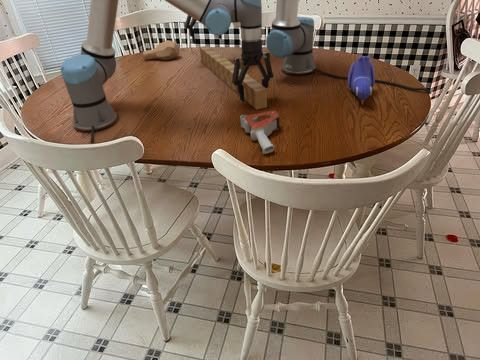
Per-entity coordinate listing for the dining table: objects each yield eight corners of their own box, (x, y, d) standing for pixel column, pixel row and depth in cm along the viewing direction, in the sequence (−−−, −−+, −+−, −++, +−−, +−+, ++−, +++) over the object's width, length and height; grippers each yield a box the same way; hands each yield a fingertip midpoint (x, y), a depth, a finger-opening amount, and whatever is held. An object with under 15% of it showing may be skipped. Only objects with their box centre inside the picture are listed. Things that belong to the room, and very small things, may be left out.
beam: (267, 107, 136) (267, 88, 132) (256, 109, 135) (255, 91, 131) (209, 60, 187) (208, 45, 182) (201, 61, 185) (199, 47, 181)
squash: (180, 60, 189) (175, 44, 182) (144, 67, 191) (138, 52, 184) (182, 51, 196) (177, 35, 190) (147, 58, 198) (141, 42, 192)
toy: (345, 95, 151) (349, 109, 128) (348, 53, 144) (352, 60, 122) (370, 95, 149) (378, 108, 126) (374, 52, 142) (383, 59, 120)
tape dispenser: (269, 161, 108) (297, 129, 121) (269, 147, 105) (298, 115, 117) (221, 145, 116) (252, 116, 128) (220, 131, 112) (252, 103, 125)
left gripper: (273, 32, 133) (273, 89, 146) (219, 41, 127) (224, 100, 140) (283, 36, 127) (282, 96, 141) (227, 46, 121) (231, 107, 134)
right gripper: (224, -12, 168) (228, 35, 180) (173, -6, 160) (180, 43, 173) (230, -10, 162) (233, 38, 175) (178, -4, 155) (185, 46, 167)
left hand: (253, 98), depth 140 cm, fingers open, 9 cm apart
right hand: (207, 40), depth 174 cm, fingers open, 13 cm apart
